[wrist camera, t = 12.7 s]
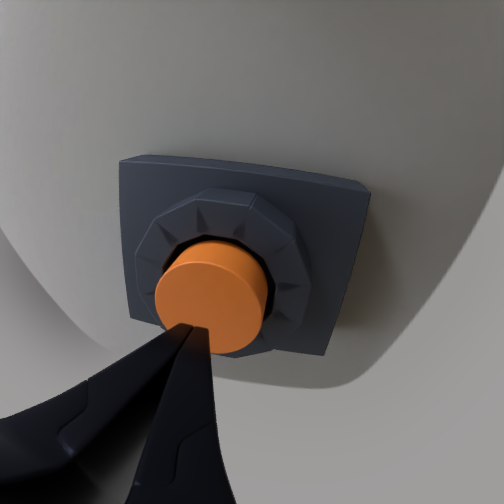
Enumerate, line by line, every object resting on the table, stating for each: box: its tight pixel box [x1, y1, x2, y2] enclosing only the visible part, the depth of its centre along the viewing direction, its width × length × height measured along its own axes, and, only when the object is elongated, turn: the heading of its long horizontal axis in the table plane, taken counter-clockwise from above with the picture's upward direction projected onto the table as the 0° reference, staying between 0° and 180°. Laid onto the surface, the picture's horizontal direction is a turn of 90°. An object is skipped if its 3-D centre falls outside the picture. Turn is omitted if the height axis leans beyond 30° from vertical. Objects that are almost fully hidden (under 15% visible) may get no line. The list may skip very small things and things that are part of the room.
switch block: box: [119, 155, 371, 358], centre depth 12 cm, size 10×8×4 cm
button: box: [155, 240, 268, 354], centre depth 10 cm, size 4×4×2 cm
